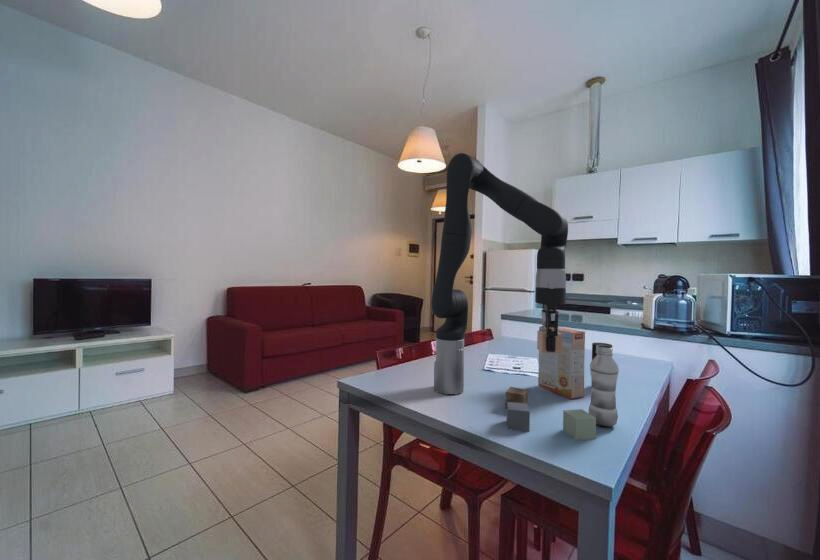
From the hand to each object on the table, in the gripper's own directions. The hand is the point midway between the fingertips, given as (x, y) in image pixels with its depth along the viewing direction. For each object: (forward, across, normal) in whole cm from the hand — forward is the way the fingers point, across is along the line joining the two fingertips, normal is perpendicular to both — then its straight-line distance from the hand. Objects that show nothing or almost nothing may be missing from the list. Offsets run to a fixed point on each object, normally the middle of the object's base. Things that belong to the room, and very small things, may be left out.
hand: (549, 348), depth 88 cm
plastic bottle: (+19, 0, +13) cm, 23 cm away
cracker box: (+19, -23, +6) cm, 30 cm away
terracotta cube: (+1, 0, 0) cm, 1 cm away
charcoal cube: (+19, +8, -8) cm, 22 cm away
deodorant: (+19, -31, +20) cm, 41 cm away
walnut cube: (+19, -4, -8) cm, 21 cm away
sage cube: (+19, +8, +6) cm, 21 cm away
